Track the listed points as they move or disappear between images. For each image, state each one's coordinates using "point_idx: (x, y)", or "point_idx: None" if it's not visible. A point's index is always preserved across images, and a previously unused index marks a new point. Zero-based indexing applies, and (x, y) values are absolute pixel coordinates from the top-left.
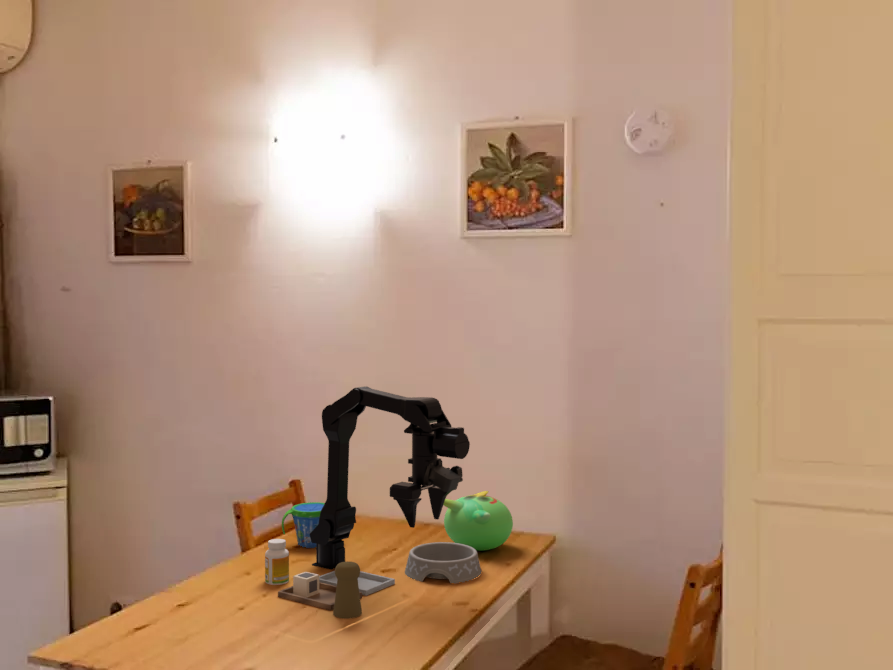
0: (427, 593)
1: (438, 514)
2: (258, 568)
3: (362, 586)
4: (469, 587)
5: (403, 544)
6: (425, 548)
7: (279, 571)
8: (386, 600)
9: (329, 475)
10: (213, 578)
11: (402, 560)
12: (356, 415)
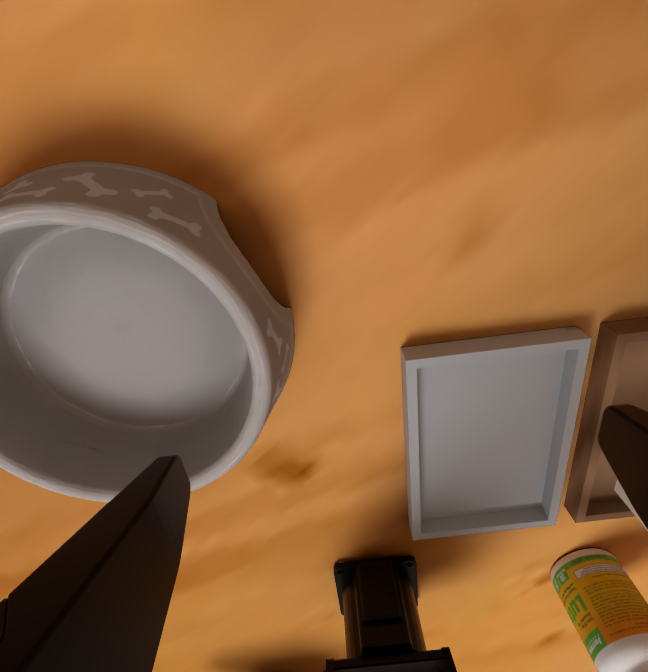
0: (394, 183)
1: (157, 490)
2: (506, 648)
3: (496, 404)
4: (184, 84)
5: None
6: (111, 478)
7: (633, 590)
8: (567, 248)
9: None
10: None
11: None
12: None
